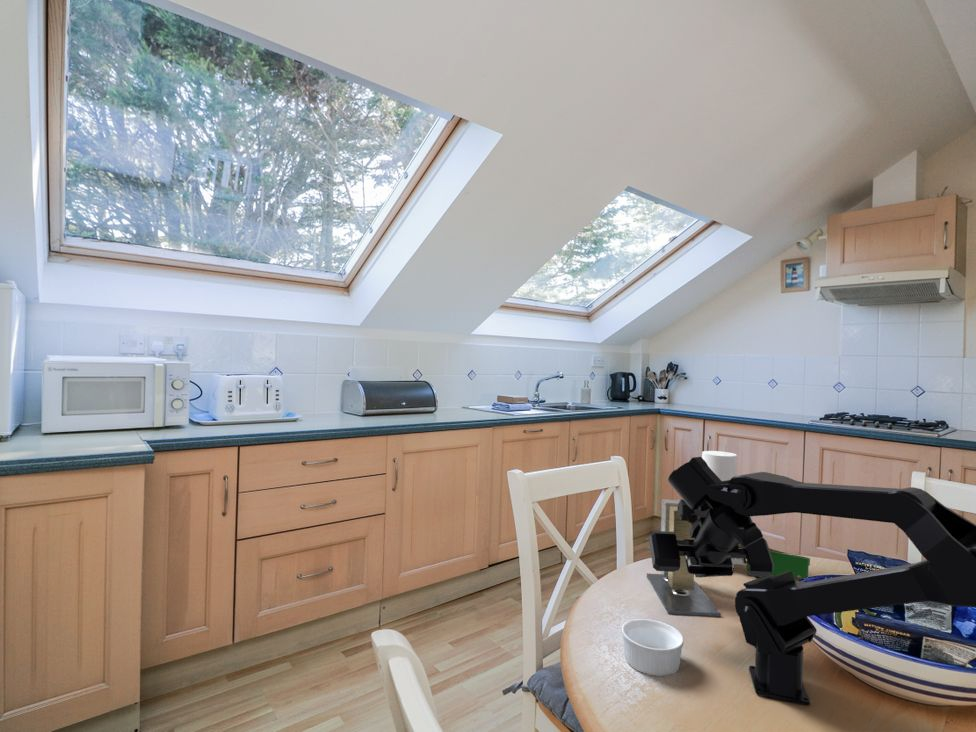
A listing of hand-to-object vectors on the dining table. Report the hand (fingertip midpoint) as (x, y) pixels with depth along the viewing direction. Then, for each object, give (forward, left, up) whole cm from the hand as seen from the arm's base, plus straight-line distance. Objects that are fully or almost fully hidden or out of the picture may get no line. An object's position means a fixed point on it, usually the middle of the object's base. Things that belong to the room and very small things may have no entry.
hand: (697, 574), depth 92 cm
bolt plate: (+8, +2, -7) cm, 11 cm away
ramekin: (-17, +7, -8) cm, 20 cm away
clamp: (+26, -17, -8) cm, 32 cm away
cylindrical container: (+28, -6, -8) cm, 30 cm away
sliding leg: (+8, +2, -7) cm, 11 cm away
